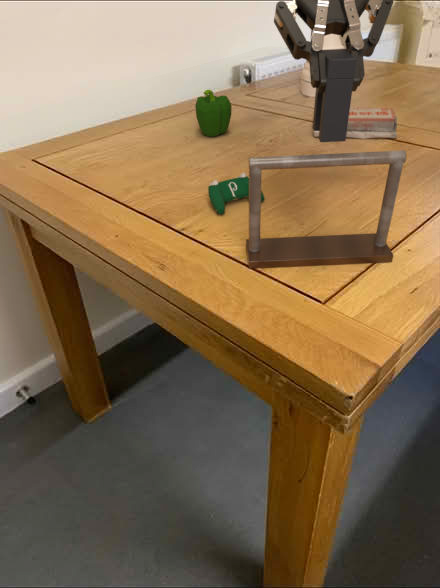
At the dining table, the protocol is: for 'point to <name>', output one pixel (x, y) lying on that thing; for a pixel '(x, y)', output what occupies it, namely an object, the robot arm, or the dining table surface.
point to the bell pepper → (213, 113)
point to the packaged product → (370, 123)
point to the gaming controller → (229, 191)
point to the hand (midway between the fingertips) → (338, 87)
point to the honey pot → (306, 88)
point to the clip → (335, 96)
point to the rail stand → (322, 247)
